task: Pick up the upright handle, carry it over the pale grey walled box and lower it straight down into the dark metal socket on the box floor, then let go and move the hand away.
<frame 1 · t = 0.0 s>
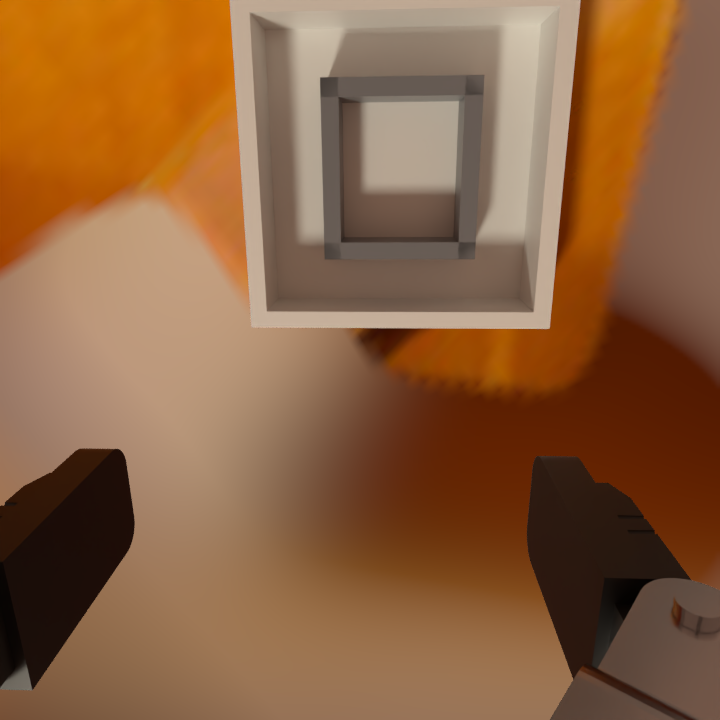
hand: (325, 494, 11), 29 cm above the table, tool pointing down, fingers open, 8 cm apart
box: (399, 171, 37), on the table
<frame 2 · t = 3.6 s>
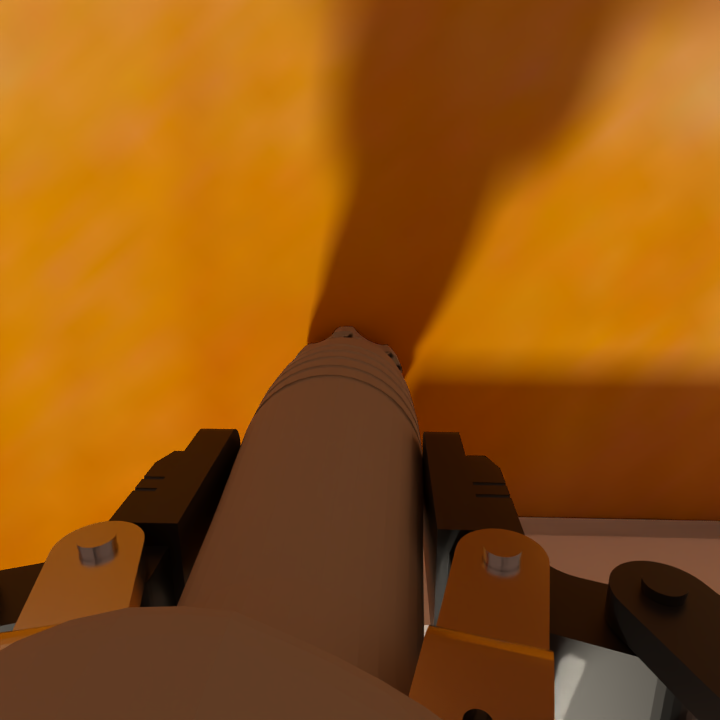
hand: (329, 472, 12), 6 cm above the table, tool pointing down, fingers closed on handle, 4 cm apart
handle: (349, 371, 18), on the table, touching gripper
when the fingers open (8 cm above the table, at t = 9.2 s): handle stays where it is, resting on box.
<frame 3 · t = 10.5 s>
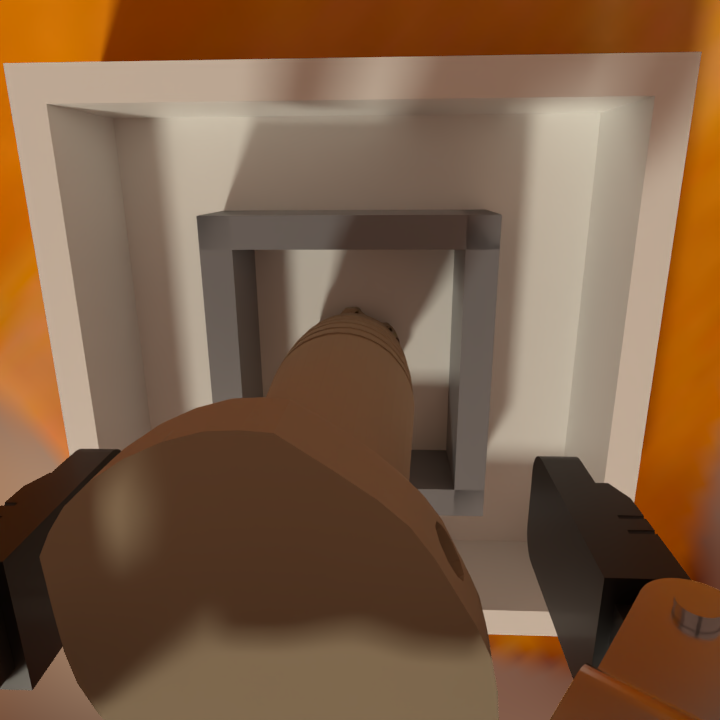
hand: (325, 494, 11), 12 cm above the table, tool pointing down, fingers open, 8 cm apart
handle: (356, 346, 22), point 1 cm above the table, touching box
box: (355, 342, 22), on the table
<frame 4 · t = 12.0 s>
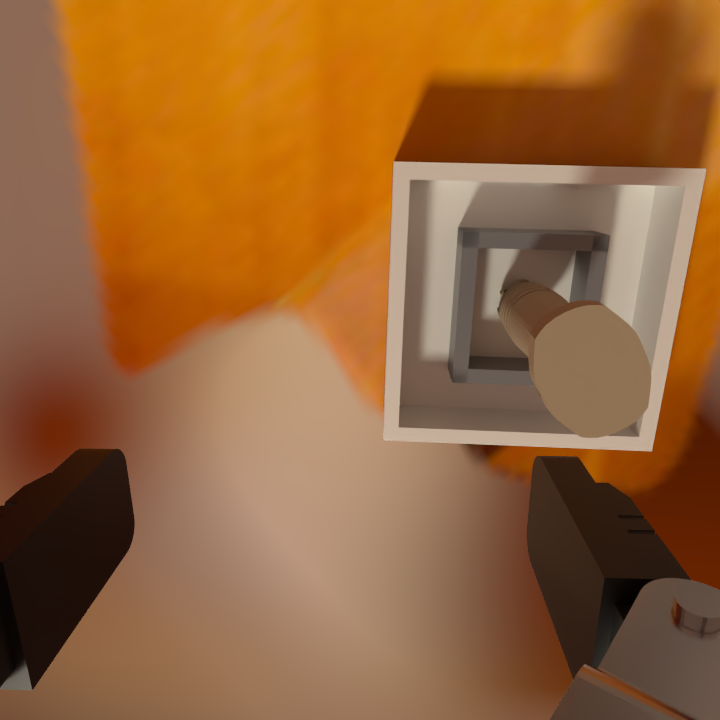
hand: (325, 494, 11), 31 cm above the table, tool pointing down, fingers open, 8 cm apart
handle: (518, 300, 41), point 1 cm above the table, touching box
box: (514, 299, 41), on the table
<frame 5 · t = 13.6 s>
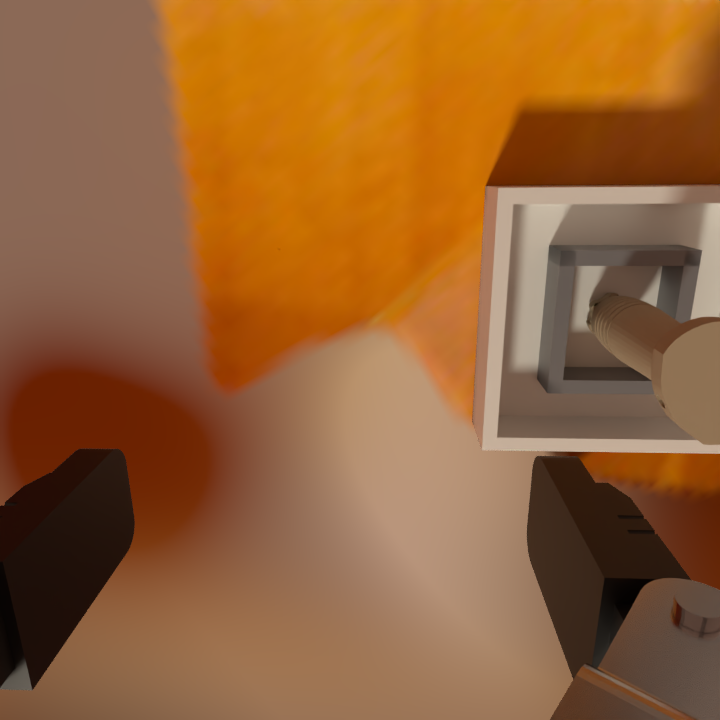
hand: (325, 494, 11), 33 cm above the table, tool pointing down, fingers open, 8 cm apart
handle: (605, 313, 43), point 1 cm above the table, touching box
box: (600, 311, 43), on the table
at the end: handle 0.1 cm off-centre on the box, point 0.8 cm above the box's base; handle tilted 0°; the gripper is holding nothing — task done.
